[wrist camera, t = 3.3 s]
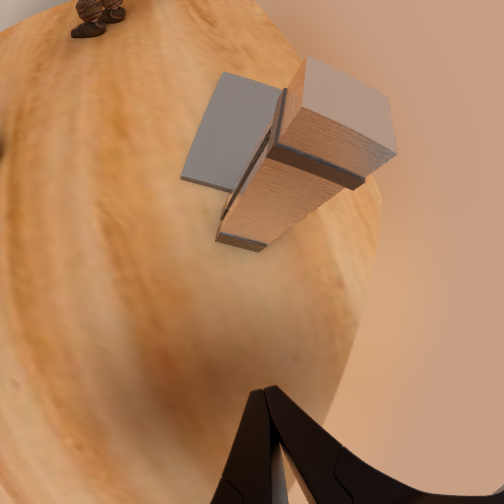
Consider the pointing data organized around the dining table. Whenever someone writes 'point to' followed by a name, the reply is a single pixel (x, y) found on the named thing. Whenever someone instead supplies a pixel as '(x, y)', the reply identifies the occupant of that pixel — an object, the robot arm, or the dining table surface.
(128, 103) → the dining table surface
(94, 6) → the toy
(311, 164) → the layered block
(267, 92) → the mat
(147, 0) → the dining table surface
